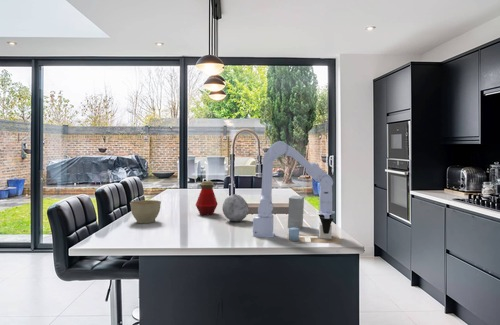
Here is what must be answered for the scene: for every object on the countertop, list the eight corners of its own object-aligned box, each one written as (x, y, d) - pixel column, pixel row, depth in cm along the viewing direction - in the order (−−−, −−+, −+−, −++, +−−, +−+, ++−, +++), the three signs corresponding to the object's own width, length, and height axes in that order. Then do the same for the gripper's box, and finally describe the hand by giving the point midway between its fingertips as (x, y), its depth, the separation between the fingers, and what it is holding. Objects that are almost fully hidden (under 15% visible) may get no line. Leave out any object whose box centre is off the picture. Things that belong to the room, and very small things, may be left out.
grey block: (319, 238, 158) (320, 224, 158) (319, 235, 163) (319, 222, 163) (331, 238, 158) (331, 225, 158) (330, 236, 163) (330, 222, 163)
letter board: (286, 242, 153) (286, 241, 153) (287, 234, 167) (287, 233, 167) (342, 244, 150) (342, 243, 150) (337, 236, 164) (337, 235, 164)
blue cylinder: (288, 241, 153) (288, 229, 153) (288, 238, 158) (288, 227, 158) (299, 241, 153) (299, 230, 153) (299, 239, 157) (299, 227, 157)
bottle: (194, 212, 225) (194, 180, 225) (215, 211, 229) (215, 180, 228) (196, 216, 210) (196, 182, 209) (219, 215, 213) (219, 182, 213)
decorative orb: (253, 222, 194) (253, 195, 194) (228, 224, 188) (228, 196, 188) (241, 217, 208) (241, 192, 207) (218, 219, 201) (218, 193, 201)
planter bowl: (157, 218, 206) (157, 199, 205) (163, 223, 191) (163, 203, 191) (128, 220, 199) (128, 200, 198) (132, 226, 184) (132, 205, 184)
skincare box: (290, 225, 187) (291, 195, 187) (304, 226, 185) (304, 195, 184) (287, 228, 179) (287, 197, 179) (301, 229, 177) (301, 198, 176)
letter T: (297, 241, 153) (297, 241, 153) (297, 235, 163) (297, 235, 163) (318, 242, 152) (318, 242, 152) (317, 236, 162) (317, 236, 162)
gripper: (336, 204, 152) (336, 235, 153) (333, 199, 167) (332, 228, 167) (320, 203, 153) (319, 235, 154) (317, 199, 168) (317, 228, 168)
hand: (325, 231), depth 161 cm, fingers open, 6 cm apart
